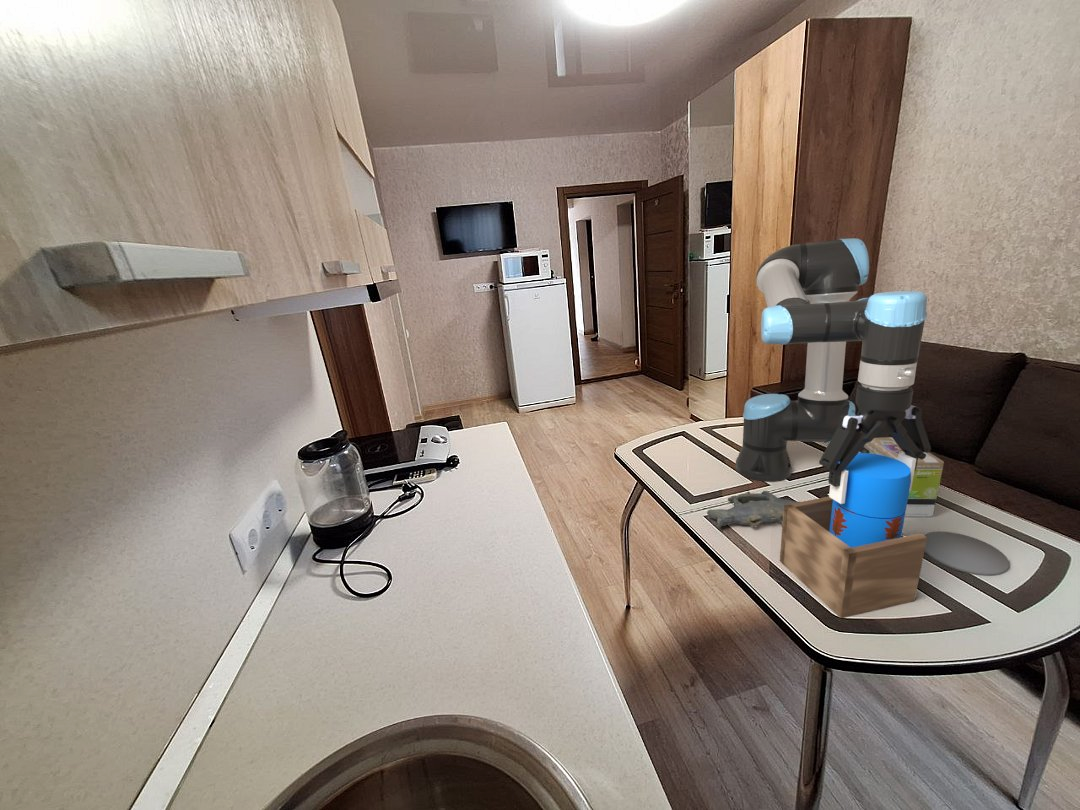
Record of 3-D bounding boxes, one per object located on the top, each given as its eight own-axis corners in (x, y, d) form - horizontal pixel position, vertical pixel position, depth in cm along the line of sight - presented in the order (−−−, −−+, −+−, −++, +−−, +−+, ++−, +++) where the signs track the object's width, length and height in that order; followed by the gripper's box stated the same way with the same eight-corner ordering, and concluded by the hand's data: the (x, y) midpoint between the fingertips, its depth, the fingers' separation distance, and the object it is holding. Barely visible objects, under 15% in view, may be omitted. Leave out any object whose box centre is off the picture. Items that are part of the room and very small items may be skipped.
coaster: (903, 540, 92) (903, 537, 91) (955, 530, 93) (955, 526, 93) (969, 581, 79) (970, 578, 79) (1027, 568, 81) (1028, 564, 80)
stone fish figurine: (823, 506, 99) (786, 482, 113) (718, 516, 99) (695, 491, 114) (822, 525, 100) (786, 500, 114) (719, 535, 100) (695, 508, 115)
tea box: (935, 518, 98) (946, 461, 93) (885, 517, 100) (894, 462, 95) (896, 485, 112) (905, 435, 107) (854, 486, 114) (860, 436, 109)
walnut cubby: (779, 561, 90) (783, 505, 86) (842, 548, 92) (849, 492, 88) (840, 618, 75) (849, 553, 71) (914, 601, 77) (927, 537, 72)
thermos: (812, 562, 89) (823, 456, 81) (860, 555, 89) (875, 449, 82) (853, 600, 78) (870, 483, 71) (907, 591, 79) (929, 474, 71)
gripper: (836, 401, 67) (824, 516, 73) (972, 379, 69) (949, 492, 75) (802, 389, 74) (794, 495, 80) (926, 370, 76) (909, 474, 83)
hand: (869, 494), depth 78 cm, fingers open, 13 cm apart
